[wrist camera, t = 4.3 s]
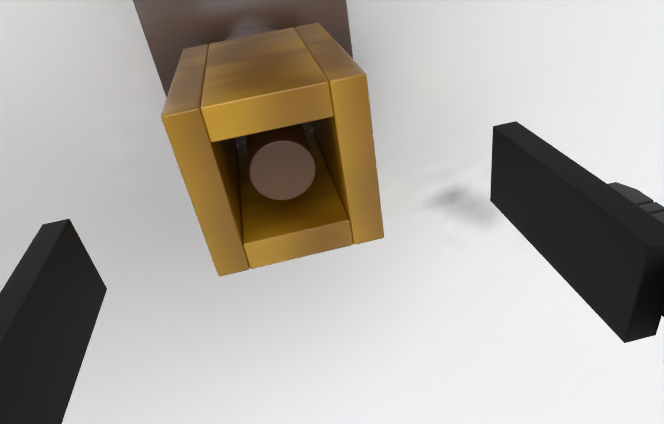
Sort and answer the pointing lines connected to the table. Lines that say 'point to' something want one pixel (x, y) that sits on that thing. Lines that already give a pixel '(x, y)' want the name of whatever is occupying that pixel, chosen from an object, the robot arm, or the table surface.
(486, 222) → the table surface
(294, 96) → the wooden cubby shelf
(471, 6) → the table surface
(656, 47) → the table surface
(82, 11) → the table surface
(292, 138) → the peg stand
